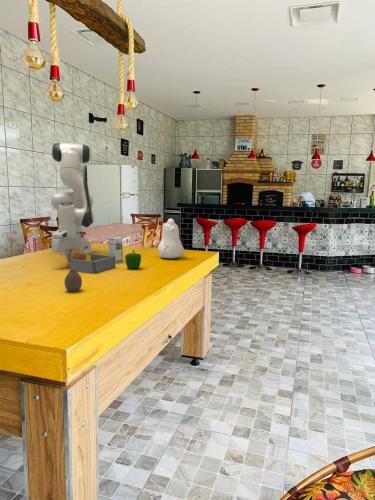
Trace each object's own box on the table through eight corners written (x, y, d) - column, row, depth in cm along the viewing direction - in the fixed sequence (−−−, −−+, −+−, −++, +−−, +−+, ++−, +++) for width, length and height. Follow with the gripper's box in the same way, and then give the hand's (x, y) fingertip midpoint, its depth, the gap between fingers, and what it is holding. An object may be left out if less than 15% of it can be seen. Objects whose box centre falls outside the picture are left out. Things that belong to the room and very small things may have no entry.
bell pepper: (138, 270, 201) (138, 251, 199) (123, 269, 202) (123, 250, 201) (143, 267, 209) (143, 249, 207) (128, 266, 211) (128, 248, 209)
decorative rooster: (184, 260, 231) (185, 219, 227) (158, 260, 230) (158, 219, 226) (181, 254, 256) (182, 216, 252) (157, 253, 254) (158, 216, 251)
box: (91, 264, 214) (91, 253, 213) (115, 267, 208) (115, 256, 207) (69, 270, 197) (69, 259, 196) (94, 273, 191) (94, 261, 190)
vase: (75, 287, 164) (75, 267, 162) (85, 290, 159) (85, 269, 158) (61, 290, 158) (60, 269, 157) (71, 293, 154) (70, 272, 153)
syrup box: (115, 263, 219) (115, 238, 217) (108, 262, 222) (108, 237, 220) (122, 262, 223) (122, 237, 221) (115, 260, 227) (115, 236, 225)
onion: (89, 265, 211) (88, 247, 210) (82, 269, 201) (82, 250, 200) (71, 264, 212) (71, 246, 210) (64, 268, 202) (64, 249, 201)
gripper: (75, 230, 216) (76, 255, 219) (49, 234, 198) (50, 260, 200) (84, 231, 214) (85, 256, 216) (58, 235, 195) (59, 261, 198)
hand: (68, 258), depth 208 cm, fingers closed, pressing on onion
